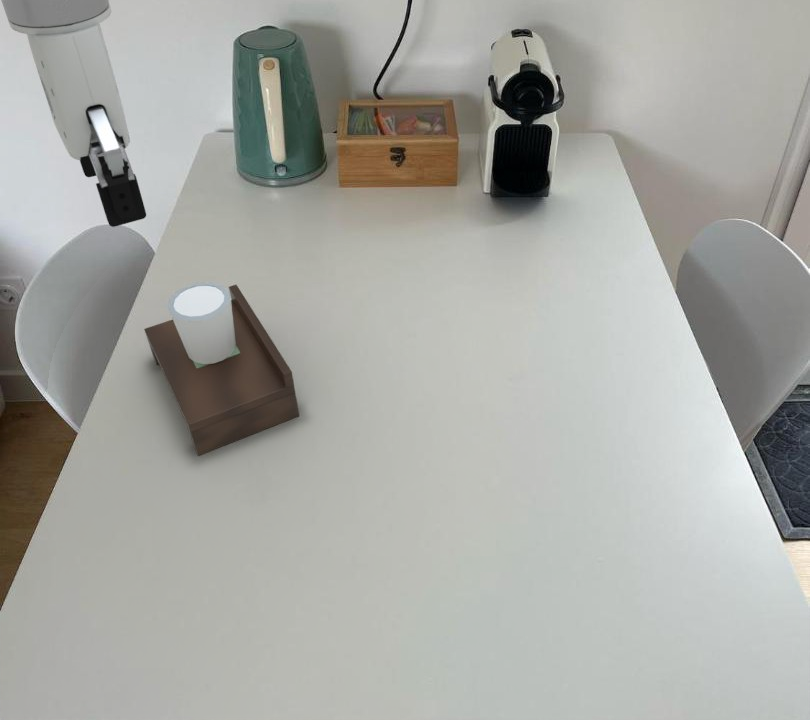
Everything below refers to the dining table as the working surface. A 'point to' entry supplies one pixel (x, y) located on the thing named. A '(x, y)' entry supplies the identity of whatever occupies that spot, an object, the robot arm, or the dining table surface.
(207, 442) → the shelf
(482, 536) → the dining table surface
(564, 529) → the dining table surface
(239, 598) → the dining table surface
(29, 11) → the robot arm
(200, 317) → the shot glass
